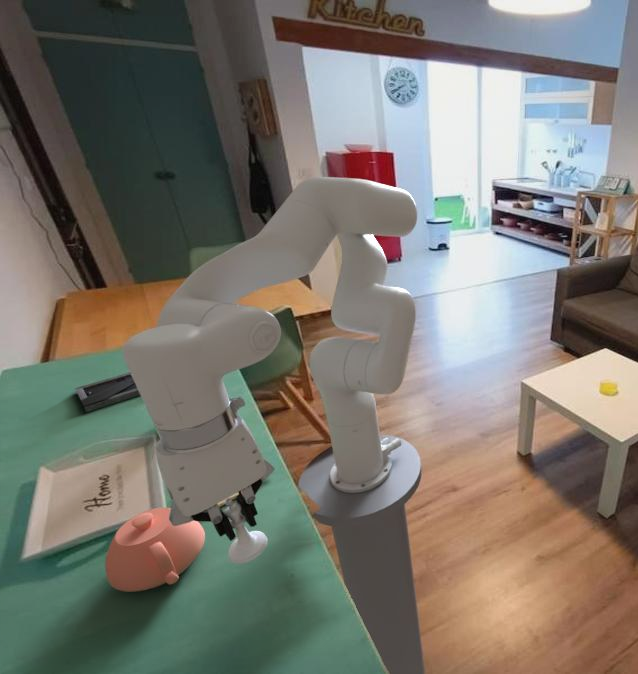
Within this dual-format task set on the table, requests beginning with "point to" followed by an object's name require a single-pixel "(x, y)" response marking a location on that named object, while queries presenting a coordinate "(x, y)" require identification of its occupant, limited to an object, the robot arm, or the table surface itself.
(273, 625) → the table surface
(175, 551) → the sugar bowl
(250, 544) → the chess piece
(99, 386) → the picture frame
